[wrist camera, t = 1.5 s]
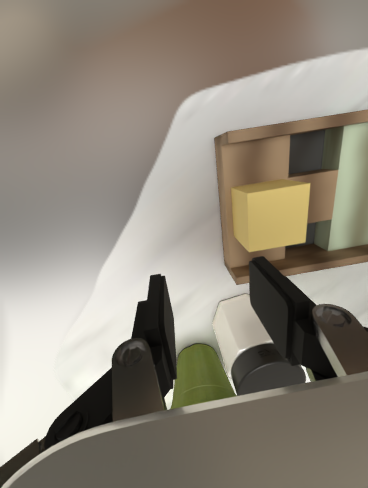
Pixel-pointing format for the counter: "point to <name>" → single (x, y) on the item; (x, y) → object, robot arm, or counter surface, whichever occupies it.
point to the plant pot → (200, 377)
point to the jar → (251, 350)
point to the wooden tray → (309, 171)
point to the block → (270, 214)
